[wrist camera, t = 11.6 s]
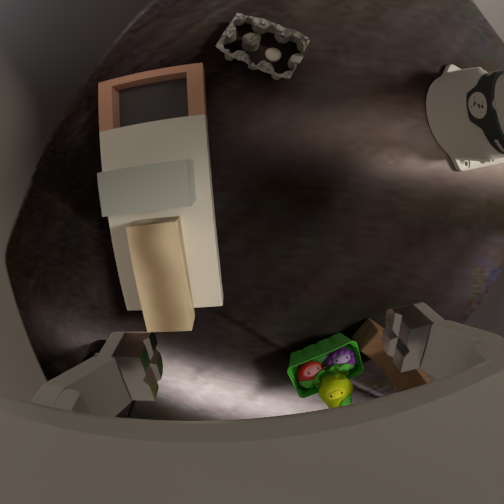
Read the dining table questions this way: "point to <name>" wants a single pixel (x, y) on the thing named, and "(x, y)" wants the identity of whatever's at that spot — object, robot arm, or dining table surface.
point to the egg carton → (253, 40)
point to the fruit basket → (326, 370)
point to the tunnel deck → (191, 217)
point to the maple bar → (161, 273)
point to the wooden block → (386, 357)
